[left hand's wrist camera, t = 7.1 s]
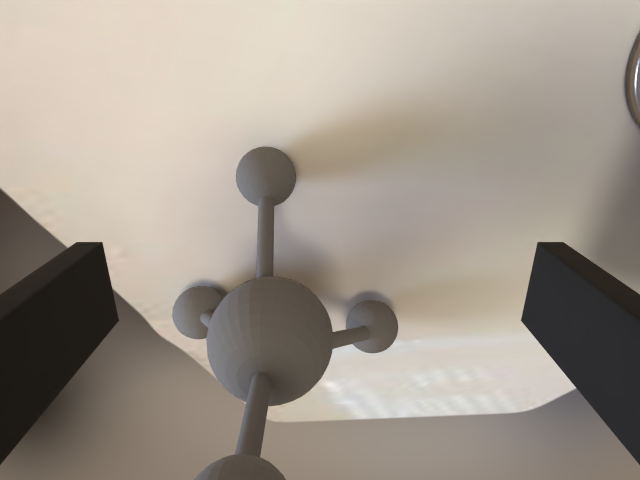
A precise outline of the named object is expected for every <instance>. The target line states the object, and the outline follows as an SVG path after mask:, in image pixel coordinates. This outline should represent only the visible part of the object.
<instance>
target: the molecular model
mask: <svg viewBox="0 0 640 480" xmlns="http://www.w3.org/2000/svg"><path fill="white" fill-rule="evenodd" d="M236 182H237V186H238V188H239V190H240V192H241V193H242V195H243V196H244V197H245V198H246V199H247V200H248V201H249V202H251V203H253V204H255V205H257V206H259V209H258V238H257V267H256V279H253V280H250V281H247V282H245V283H243V284H241V285H240V286H238V287H236V288H235V289H233V290H232V291H231V292H230V293H229V294H228V295H226V296H225V297H224V298H222V296H221V295H220V294H219V293H218V292H217V291H215V290H214V289H211V288H209V287H202V286H198V287H193V288H190V289H188V290H186V291H185V292H183V293H182V294H181V295H180V296H179V297H178V299H177V300H176V302H175V304H174V307H173V321H174V324H175V326H176V328H177V329H178V330H179V331H180V332H181V333H182V334H183V335H185V336H187V337H189V338H193V339H204V338H207V339H206V340H207V353H208V359H209V362H210V365H211V368H212V370H213V372H214V374H215V376H216V377H217V379H218V381H219V382H220V383H221V384H222V385H223V387H224V388H225V389H227V390H228V391H229V392H230V393H232V394H233V395H234V396H235V397H237V398H239V399H241V400H243V401H245V402H247V403H246V407H245V412H244V416H243V420H242V425H241V430H240V434H239V438H238V443H237V447H236V452H235V455H231V456H227V457H224V458H222V459H220V460H218V461H216V462H214V463H212V464H210V465H209V466H208V467H206V468H205V469H204V470H203V471H202V472H201V473H200V474H199V475H198V476H197V477H196V478H195V479H194V480H286V479H285V478H284V476H283V475H282V474H281V472H280V471H279V470H278V469H277V468H276V467H275V466H274V465H272V464H271V463H270V462H268V461H266V460H264V459H263V458H260V454H261V448H262V441H263V435H264V428H265V422H266V416H267V409H268V406H275V405H281V404H285V403H288V402H291V401H293V400H296V399H298V398H300V397H302V396H303V395H304V394H306V393H307V392H308V391H310V390H311V389H312V388H313V387H314V386H315V384H316V383H317V382H318V381H319V380H320V379H321V377H322V376H323V374H324V372H325V370H326V368H327V366H328V364H329V361H330V358H331V354H332V349H333V348H337V347H341V346H345V345H349V344H353V345H354V346H355V347H356V348H358V349H360V350H361V351H364V352H367V353H378V352H382V351H384V350H386V349H387V348H389V347H390V346H391V345H392V343H393V342H394V340H395V339H396V336H397V333H398V322H397V318H396V316H395V314H394V312H393V311H392V310H391V309H390V308H389V307H388V306H387V305H386V304H384V303H382V302H380V301H375V300H368V301H363V302H361V303H359V304H357V305H356V306H355V307H353V309H352V310H351V311H350V313H349V315H348V317H347V320H346V330H341V331H336V332H333V331H332V326H331V321H330V318H329V315H328V313H327V311H326V309H325V307H324V306H323V304H322V303H321V302H320V300H319V299H318V297H317V296H316V295H315V294H314V293H313V292H312V291H311V290H310V289H308V288H307V287H305V286H303V285H302V284H300V283H298V282H295V281H293V280H290V279H286V278H281V277H273V247H274V206H275V205H278V204H280V203H282V202H284V201H285V200H286V199H287V198H288V197H289V196H290V194H291V193H292V191H293V189H294V187H295V182H296V173H295V168H294V166H293V163H292V162H291V160H290V159H289V158H288V156H287V155H286V154H284V153H283V152H282V151H280V150H278V149H275V148H272V147H259V148H256V149H253V150H251V151H250V152H248V153H247V154H246V155H245V156H244V157H243V158H242V159H241V161H240V162H239V165H238V167H237V171H236Z"/></svg>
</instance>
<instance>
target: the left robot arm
mask: <svg viewBox="0 0 640 480" xmlns="http://www.w3.org/2000/svg"><path fill="white" fill-rule="evenodd" d="M626 95H627V101H628V105H629V108H630V111H631V114H632V116H633V118H634V119H635V121H636V123H637V124H638V125H639V127H640V35H639V37H638V39H637V41H636V43H635V45H634V48H633V50H632V54H631V57H630V60H629V64H628V69H627V76H626ZM118 321H119V319H118V314H117V310H116V305H115V300H114V295H113V290H112V286H111V281H110V276H109V272H108V267H107V262H106V257H105V253H104V248H103V243H102V242H76V243H75V244H73V245H72V246H71V247H69V248H68V249H66V250H65V251H63V252H62V253H60V254H59V255H57V256H56V257H54V258H53V259H52V260H50V261H49V262H47V263H46V264H44V265H43V266H41V267H40V268H38V269H37V270H35V271H34V272H33V273H31V274H30V275H28V276H27V277H25V278H24V279H22V280H21V281H19V282H18V283H17V284H15V285H14V286H12V287H11V288H9V289H8V290H6V291H5V292H3V293H2V294H0V464H1V463H2V462H3V461H4V460H5V458H6V457H7V456H8V455H9V454H10V452H11V451H12V450H13V449H14V447H15V446H16V445H17V444H18V443H19V441H20V440H21V439H22V438H23V436H24V435H25V434H26V433H27V432H28V430H29V429H30V428H31V427H32V426H33V424H34V423H35V422H36V421H37V419H38V418H39V417H40V416H41V415H42V413H43V412H44V411H45V410H46V409H47V407H48V406H49V405H50V404H51V402H52V401H53V400H54V399H55V398H56V396H57V395H58V394H59V393H60V392H61V390H62V389H63V388H64V387H65V385H66V384H67V383H68V382H69V380H70V379H71V378H72V377H73V376H74V374H75V373H76V372H77V371H78V370H79V368H80V367H81V366H82V365H83V364H84V362H85V361H86V360H87V359H88V357H89V356H90V355H91V354H92V353H93V351H94V350H95V349H96V348H97V347H98V345H99V344H100V343H101V342H102V340H103V339H104V338H105V337H106V336H107V334H108V333H109V332H110V331H111V329H112V328H113V327H114V326H115V325H116V323H117V322H118ZM521 321H522V322H523V323H524V325H525V326H526V327H527V328H528V329H529V331H530V332H531V333H532V334H533V336H534V337H535V338H536V339H537V340H538V342H539V343H540V344H541V345H542V347H543V348H544V349H545V350H546V351H547V353H548V354H549V355H550V356H551V357H552V359H553V360H554V361H555V362H556V364H557V365H558V366H559V367H560V368H561V370H562V371H563V372H564V373H565V374H566V376H567V377H568V378H569V379H570V381H571V382H572V383H573V384H574V385H575V387H576V388H577V389H578V390H579V391H580V393H581V394H582V395H583V396H584V398H585V399H586V400H587V401H588V402H589V404H590V405H591V406H592V407H593V409H594V410H595V411H596V412H597V413H598V415H599V416H600V417H601V418H602V419H603V421H604V422H605V423H606V424H607V426H608V427H609V428H610V429H611V430H612V432H613V433H614V434H615V435H616V437H617V438H618V439H619V440H620V441H621V443H622V444H623V445H624V446H625V447H626V449H627V450H628V451H629V452H630V454H631V455H632V456H633V457H634V458H635V460H636V461H637V462H638V463H639V464H640V294H638V293H637V292H635V291H634V290H632V289H631V288H629V287H628V286H626V285H625V284H624V283H622V282H621V281H619V280H618V279H616V278H615V277H613V276H612V275H610V274H609V273H607V272H606V271H605V270H603V269H602V268H600V267H599V266H597V265H596V264H594V263H593V262H591V261H590V260H588V259H587V258H586V257H584V256H583V255H581V254H580V253H578V252H577V251H575V250H574V249H572V248H571V247H569V246H568V245H567V244H565V243H564V242H538V243H537V248H536V253H535V257H534V262H533V267H532V272H531V276H530V281H529V286H528V290H527V295H526V300H525V305H524V309H523V314H522V319H521Z"/></svg>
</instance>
